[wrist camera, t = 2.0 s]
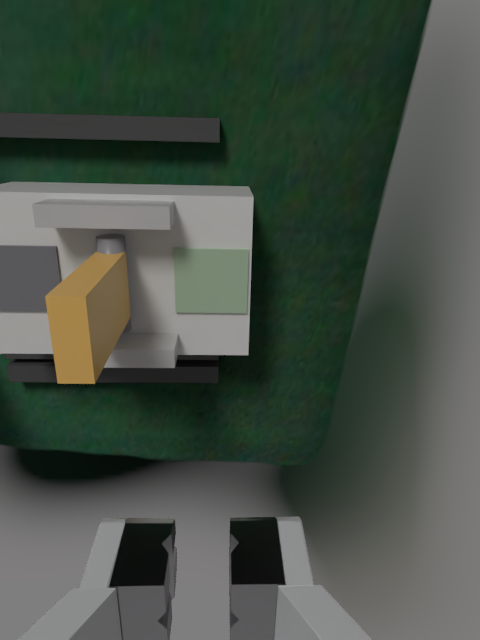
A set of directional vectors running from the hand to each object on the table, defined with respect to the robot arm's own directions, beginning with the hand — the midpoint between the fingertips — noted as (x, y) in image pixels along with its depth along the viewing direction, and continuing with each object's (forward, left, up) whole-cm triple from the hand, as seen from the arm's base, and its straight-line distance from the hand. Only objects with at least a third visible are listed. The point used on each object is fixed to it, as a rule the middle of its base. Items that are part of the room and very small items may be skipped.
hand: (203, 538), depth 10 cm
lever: (-6, 0, -18) cm, 19 cm away
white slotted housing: (-6, 0, -25) cm, 26 cm away
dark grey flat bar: (-8, -7, -25) cm, 27 cm away
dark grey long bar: (-8, +9, -25) cm, 28 cm away
